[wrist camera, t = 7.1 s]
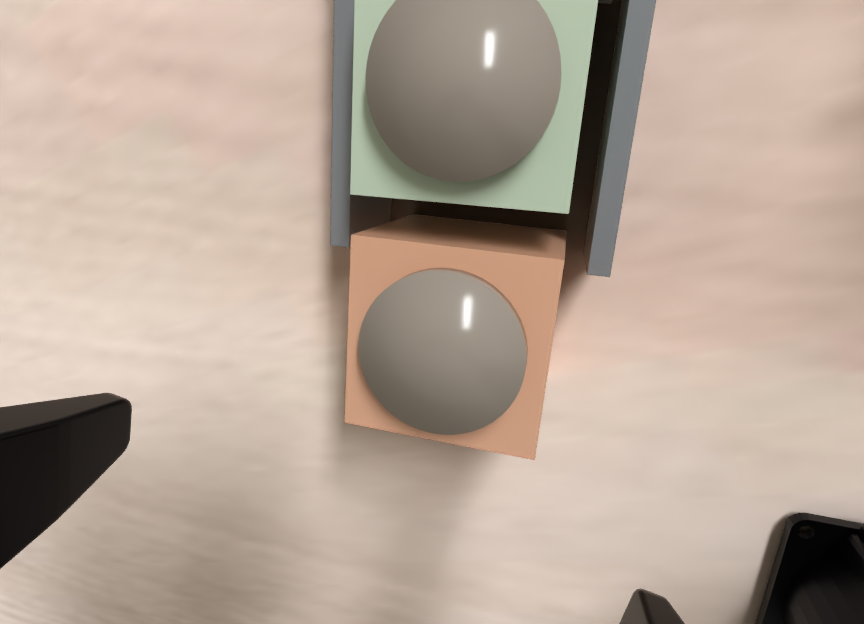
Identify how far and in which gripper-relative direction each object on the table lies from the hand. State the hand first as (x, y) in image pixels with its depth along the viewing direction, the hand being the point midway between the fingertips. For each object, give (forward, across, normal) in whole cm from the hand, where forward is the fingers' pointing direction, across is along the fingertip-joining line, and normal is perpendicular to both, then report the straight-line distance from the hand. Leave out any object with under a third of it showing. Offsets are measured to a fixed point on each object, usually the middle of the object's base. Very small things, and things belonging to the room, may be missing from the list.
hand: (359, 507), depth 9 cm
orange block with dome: (+12, 0, -1) cm, 12 cm away
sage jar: (+12, +1, -7) cm, 14 cm away
